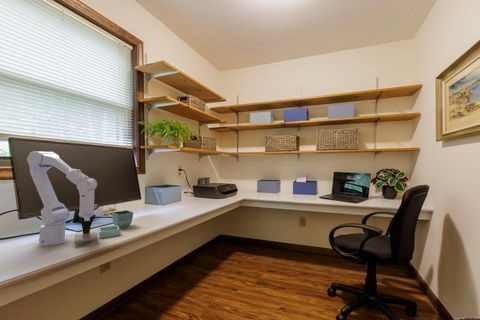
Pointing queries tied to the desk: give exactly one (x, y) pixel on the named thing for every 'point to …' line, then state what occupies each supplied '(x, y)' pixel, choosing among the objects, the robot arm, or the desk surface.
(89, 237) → the lid
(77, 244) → the mat
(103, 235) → the dish
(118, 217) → the flower pot
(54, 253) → the desk surface
